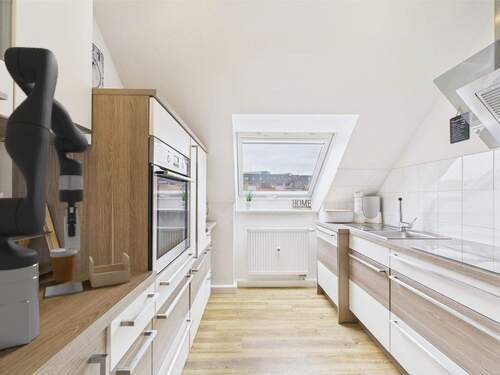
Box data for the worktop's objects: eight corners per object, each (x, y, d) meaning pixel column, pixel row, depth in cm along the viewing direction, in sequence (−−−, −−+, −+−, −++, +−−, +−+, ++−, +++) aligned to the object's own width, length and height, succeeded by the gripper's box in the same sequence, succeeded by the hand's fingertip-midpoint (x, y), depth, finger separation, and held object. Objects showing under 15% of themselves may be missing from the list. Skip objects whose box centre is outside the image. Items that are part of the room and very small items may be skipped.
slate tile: (83, 291, 104) (83, 289, 104) (44, 298, 99) (44, 296, 99) (81, 283, 114) (81, 281, 114) (46, 289, 108) (46, 287, 108)
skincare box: (80, 250, 106) (80, 216, 107) (65, 252, 104) (65, 216, 104) (77, 248, 111) (77, 215, 112) (63, 249, 109) (63, 216, 109)
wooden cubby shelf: (130, 281, 115) (130, 257, 115) (92, 287, 108) (91, 262, 109) (124, 273, 126) (124, 252, 126) (89, 278, 120) (89, 256, 120)
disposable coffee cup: (53, 278, 122) (52, 248, 122) (79, 275, 125) (79, 246, 125) (46, 285, 113) (46, 252, 113) (75, 281, 116) (75, 250, 116)
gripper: (59, 189, 112) (59, 234, 112) (58, 188, 100) (58, 239, 99) (82, 189, 116) (83, 232, 116) (84, 188, 104) (84, 237, 103)
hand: (71, 235), depth 108 cm, fingers closed on skincare box, 6 cm apart
